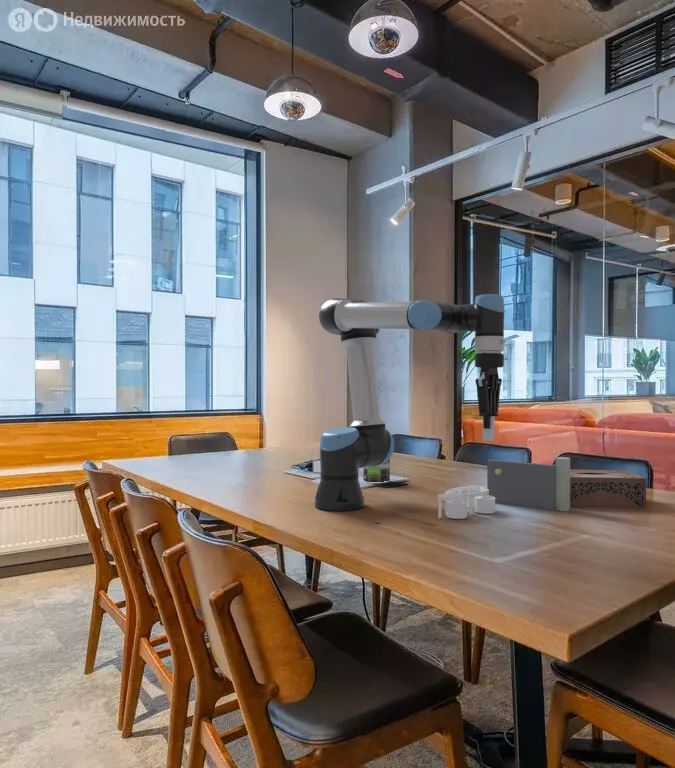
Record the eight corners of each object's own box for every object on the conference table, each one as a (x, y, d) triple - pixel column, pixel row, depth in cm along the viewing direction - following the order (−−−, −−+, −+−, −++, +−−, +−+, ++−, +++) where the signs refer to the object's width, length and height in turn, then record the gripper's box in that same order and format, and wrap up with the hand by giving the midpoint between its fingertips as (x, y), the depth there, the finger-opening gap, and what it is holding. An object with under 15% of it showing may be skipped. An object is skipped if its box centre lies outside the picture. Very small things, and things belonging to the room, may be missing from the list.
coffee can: (387, 485, 212) (387, 447, 212) (360, 483, 215) (360, 446, 215) (392, 480, 222) (392, 443, 221) (366, 479, 225) (366, 443, 224)
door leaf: (563, 517, 163) (563, 460, 163) (484, 506, 176) (484, 454, 176) (571, 511, 170) (571, 457, 170) (495, 501, 184) (495, 451, 184)
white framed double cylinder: (452, 526, 153) (452, 499, 153) (424, 518, 163) (424, 492, 163) (503, 516, 164) (503, 491, 164) (474, 509, 174) (474, 485, 173)
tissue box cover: (555, 510, 173) (555, 476, 173) (543, 499, 187) (543, 469, 187) (646, 512, 170) (646, 478, 170) (626, 501, 185) (626, 470, 185)
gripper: (493, 351, 147) (492, 443, 148) (511, 353, 158) (510, 439, 158) (466, 352, 152) (465, 441, 152) (485, 353, 162) (484, 437, 163)
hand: (488, 440), depth 155 cm, fingers closed
